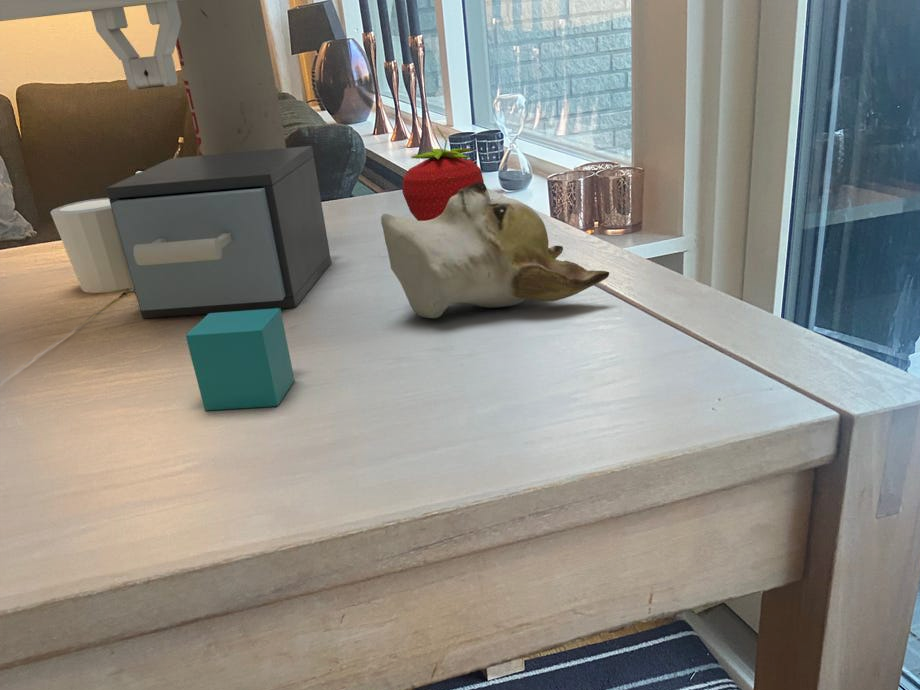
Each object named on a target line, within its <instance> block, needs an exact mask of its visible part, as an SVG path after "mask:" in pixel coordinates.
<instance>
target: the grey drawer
mask: <svg viewBox="0 0 920 690" xmlns="http://www.w3.org/2000/svg"><path fill="white" fill-rule="evenodd" d="M262 187H263V186H260V187H248V188H237V189H225V190H213V191H202V192H190V193H178V194H167V195H155V196H143V197H137V198H135V199H129V200H118V201H115V202H113V203H111V205H112V209H113V212H114V216H115V219H116V223H117V227H118V230H119V234H120V237H121V241H122V244H123V248H124V252H125V255H126V259H127V262H128V266H129V269H130V273H131V276H132V280H133V284H134V287H135V290H134V292H135V291H136V293H135V295H136V294H137V297H136V299H137V298H138V301H139V304H138V306H139V305H140V308H139V310H140V309H141V311H145V310H159V309H172V308H186V307H200V306H213V305H227V304H241V303H255V302H268V301H282V300H283V299H284V298H285V297H286V295H285V290H284V285H283V280H282V275H281V269H280V264H279V259H278V254H277V249H276V244H275V239H274V234H273V228H272V223H271V218H270V213H269V208H268V203H267V198H266V193H265V188H262ZM138 301H137V302H138Z"/></svg>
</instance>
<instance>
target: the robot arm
mask: <svg viewBox="0 0 920 690" xmlns="http://www.w3.org/2000/svg"><path fill="white" fill-rule="evenodd" d="M177 1H183V0H0V22H7V21H16V20H26V19H32V18H33V19H34V18H42V17H52V16H61V15H69V14H76V13H77V14H79V13H87V12H91V15H92V19H93V23H94V27H95V30H96V32H97V34H98V35H99V36H100V38H101V39H102V40H103V42H105V44H106V45H107V46H108V48H109V49H110V50H111V52H113V54H114V55H115V56H116V57H117V59H118V60H119V61H121V64H122V68H123V71H124V74H125V79H126V82H127V86H128V88H129V89H130V91H138V90H145V89H152V88H153V89H154V88H163V87H164V88H166V87H172V86H176V85H178V75H177V70H176V66H175V62H174V58H173V57H174V56H173V55H174V53H175V49H176V42H177V37H178V33H179V29H180V25H181V19H180V14H179V10H178V5H177ZM138 6H139V7H140V6H145V8H146V13H147V16H148V20H149V23H150V25H152V26H155V25H159V26H158V30H157V35H156V36H157V37H156V40H155V47H154V51H153V55H152V56H141V55H140V54H139V53H138V52H137V50H136V49H135V48H134V46H133V45H132V43H131V42H130V41H129V39H128V38H127V36H126V35H125V34H124V32H123V31H122V30H121V29H127V28H128V27H129V24H128V21H127V17H126V12H125V8H128V7H129V8H130V7H138ZM140 56H141V57H140Z"/></svg>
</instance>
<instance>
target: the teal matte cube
mask: <svg viewBox="0 0 920 690" xmlns="http://www.w3.org/2000/svg"><path fill="white" fill-rule="evenodd" d="M185 340H186V344H187V346H188V347H187V348H188V351H189V355H190V358H191V362H192V366H193V370H194V374H195V378H196V381H197V382H196V383H197V386H198V390H199V393H200V397H201V402H202V405H203V410H204V411H220V410H221V411H222V410H236V409H237V410H239V409H253V408H255V409H257V408H269V407H270V408H271V407H278V406H279V405H280V403H281V402H282V401H283V399H284V397H285V395H286V394H287V393H288V391H289V390H290V388H291V386H292V385H293V383H295V375H294V369H293V366H292V365H293V364H292V360H291V355H290V350H289V345H288V341H287V335H286V330H285V325H284V320H283V314H282V309H280V308H275V309H261V310H247V311H233V312H219V313H209V314H206V315H205V316H204V317H203V318H201V320H200V321H199V322H198V323H197V324H196V325H195V326H194V327H193V328H191V330H189V331H188V332H187V334H185Z"/></svg>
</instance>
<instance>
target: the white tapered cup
mask: <svg viewBox="0 0 920 690" xmlns="http://www.w3.org/2000/svg"><path fill="white" fill-rule="evenodd" d="M109 200H110V199H109V197H99V198H93V199H86V200H81V201H76V202H75V201H74V202H72V203H67V204H64V205H61V206H58V207H55V208H53V209H52V210H51V211H50V215H51V218H52V220H53V223H54V225H55V228H56V230H57V232H58V234H59V237H60V239H61V242H62V244H63V247H64V249H65V252H66V254H67V257H68V259H69V261H70V264H71V266H72V269H73V271H74V274H75V276H76V279H77V281H78V284H79V286H80V289H81V291H83V292H84V293H90V294H97V293H99V294H100V293H111V292H118V291H121V290H125V291H123V292H122V294H125V293H131V292H134V291H135V290H134V286H133V283H132V279H131V276H130V272H129V269H128V265H127V261H126V258H125V254H124V251H123V247H122V244H121V240H120V236H119V233H118V229H117V226H116V222H115V219H114V215H113V212H112V208H111V204H110V201H109Z"/></svg>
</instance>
